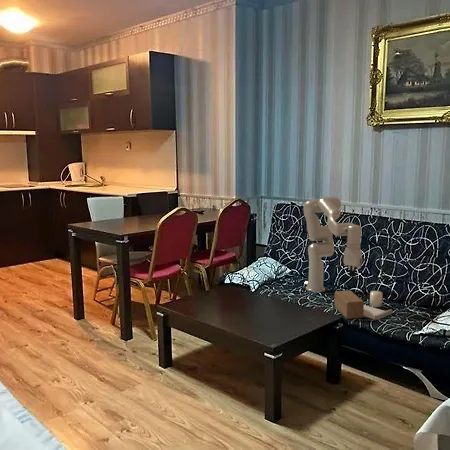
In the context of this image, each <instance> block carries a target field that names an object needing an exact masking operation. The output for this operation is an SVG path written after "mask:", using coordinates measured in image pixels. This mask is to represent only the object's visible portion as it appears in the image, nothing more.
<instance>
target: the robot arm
mask: <svg viewBox="0 0 450 450" xmlns="http://www.w3.org/2000/svg"><path fill="white" fill-rule="evenodd" d="M341 206H342V201H341V199H339V198H338V197H336V196H326V197H322V198H320V199H311V200H307V201H305V203H304V204H303V214H304V218H305V220H306V221H305V222H306V229H307V236H308V239H309V241H311V242H313V243H311V244H310V245H308V247H307V253H308V280H305V281H304V285H306V286H305V290H307V291H308V292H312V293H321V292H325V290H326V288H325V287H324V265H325V264H324V262H323V260H322V258H325V257H331V256H333V255H334V252H335V245H334V239H333V238H334V237H333V235H334V236H335V237H344V236H346V238H347V240H346V243H345V245H346V247H345V248H344V253H343V259H342V262H343V264H344V266H346V267H347V268H348V270H349V272H348V275H349V277H350V278H354V277H356V271H357V269H359V270H360V269H361V268H362V264H363V253H362V249H361V239H362V227H361V225H358V224H355V223H352V222H342V223H341V222H337V220H339V218H340V216H341V210H340V209H341ZM316 213H318V214H319V213H323V214H324V215H325V217H327V219H326V220H327V221H326V222H327V226H326V225H321V223H320V222H321V221H320V218H319V217H318V215H317V214H316ZM320 241H321V242H320Z"/></svg>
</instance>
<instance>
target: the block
mask: <svg viewBox="0 0 450 450" xmlns="http://www.w3.org/2000/svg"><path fill="white" fill-rule="evenodd" d="M364 303H365V302H364V300H363V299H362V298H361V297H360V296H358V295H357V294H355V293H354V292H353V291H351V290H338V291H334V308H335V309H336V310H338V312H339V313H340V314H342V315H343V317H344V318H345V319H347V320H349V319H362V318H364V316H363V310H364V305H365V304H364Z"/></svg>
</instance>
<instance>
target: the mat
mask: <svg viewBox="0 0 450 450" xmlns="http://www.w3.org/2000/svg"><path fill="white" fill-rule="evenodd" d="M392 314H393V309H392V308H389V309H387V310H382V309H379V308H377V307H372V306H370V305H366V304H364V310H363V317H366V318H368V319H371V320H375V321H378V320H380V319H383V318H385V317H387V316H390V315H392Z"/></svg>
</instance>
